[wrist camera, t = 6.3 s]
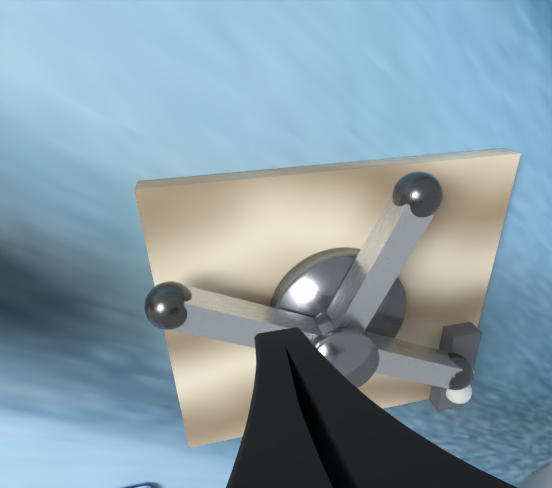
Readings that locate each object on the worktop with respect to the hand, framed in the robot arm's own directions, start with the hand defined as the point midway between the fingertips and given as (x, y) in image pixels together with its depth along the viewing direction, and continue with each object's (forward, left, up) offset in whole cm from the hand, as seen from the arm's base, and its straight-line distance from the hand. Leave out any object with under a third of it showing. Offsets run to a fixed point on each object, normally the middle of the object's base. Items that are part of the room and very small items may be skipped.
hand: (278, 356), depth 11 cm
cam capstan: (-4, -4, -7) cm, 9 cm away
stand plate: (-4, -5, -8) cm, 10 cm away
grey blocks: (-9, -12, -7) cm, 17 cm away
